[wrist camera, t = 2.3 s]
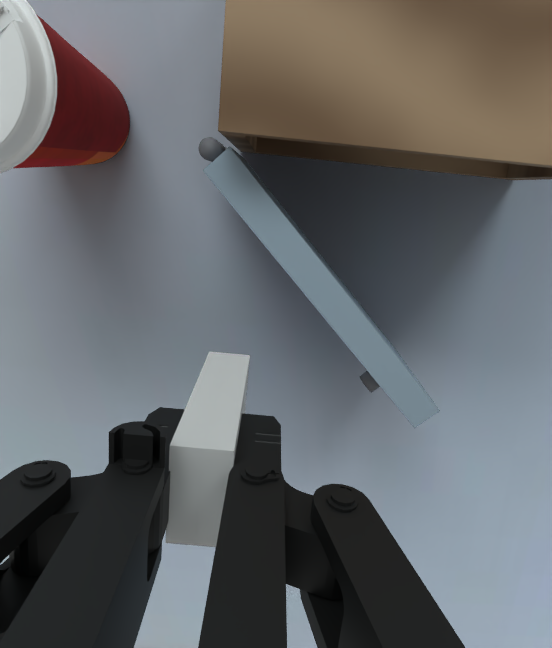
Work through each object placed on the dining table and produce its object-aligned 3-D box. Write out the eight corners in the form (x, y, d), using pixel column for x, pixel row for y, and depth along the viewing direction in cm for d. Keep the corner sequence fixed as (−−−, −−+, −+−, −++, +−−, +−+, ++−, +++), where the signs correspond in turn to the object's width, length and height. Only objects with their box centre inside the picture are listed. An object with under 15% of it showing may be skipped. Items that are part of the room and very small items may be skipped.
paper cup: (81, 20, 28) (-96, -129, 15) (172, 123, 30) (85, 72, 16) (-1, 114, 30) (-229, 55, 16) (89, 207, 31) (-51, 223, 18)
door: (232, 143, 29) (213, 125, 21) (397, 352, 33) (439, 410, 24) (201, 171, 30) (169, 165, 21) (368, 373, 34) (399, 438, 25)
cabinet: (257, -69, 27) (241, -259, 15) (563, -34, 27) (770, -193, 16) (241, 151, 30) (218, 130, 19) (513, 180, 31) (654, 176, 19)
